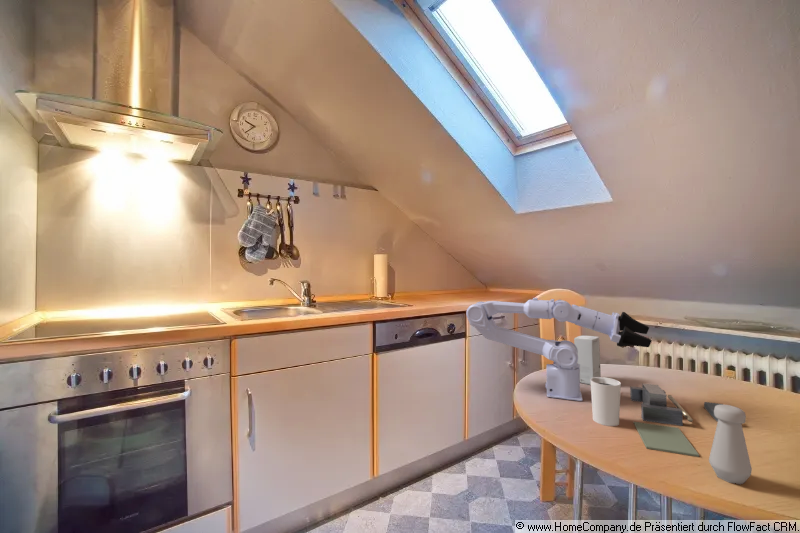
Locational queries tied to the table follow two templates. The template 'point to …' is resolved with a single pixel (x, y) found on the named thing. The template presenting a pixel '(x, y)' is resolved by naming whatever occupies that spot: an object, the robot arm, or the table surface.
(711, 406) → the bracket
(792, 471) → the table surface
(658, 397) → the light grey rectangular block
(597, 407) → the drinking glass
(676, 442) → the mat
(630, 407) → the table surface
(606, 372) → the table surface
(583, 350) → the skincare box
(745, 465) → the salt shaker
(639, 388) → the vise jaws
